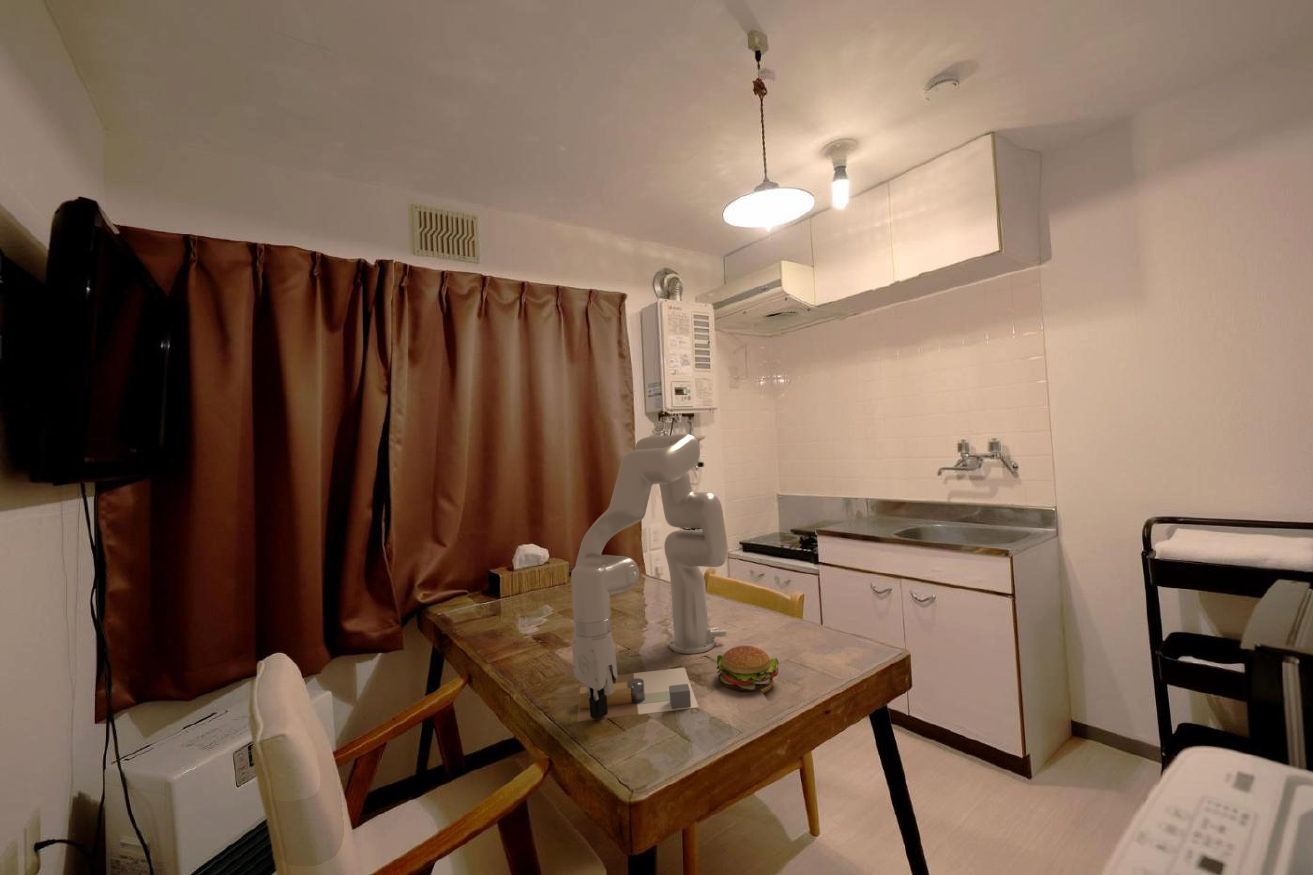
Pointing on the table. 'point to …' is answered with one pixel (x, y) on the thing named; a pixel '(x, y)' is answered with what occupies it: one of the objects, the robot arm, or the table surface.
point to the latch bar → (619, 693)
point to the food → (747, 669)
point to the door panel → (652, 694)
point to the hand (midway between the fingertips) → (599, 715)
